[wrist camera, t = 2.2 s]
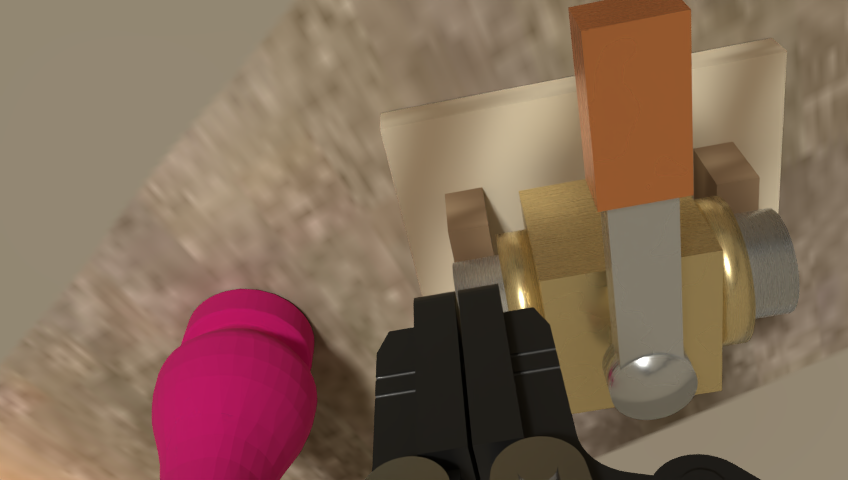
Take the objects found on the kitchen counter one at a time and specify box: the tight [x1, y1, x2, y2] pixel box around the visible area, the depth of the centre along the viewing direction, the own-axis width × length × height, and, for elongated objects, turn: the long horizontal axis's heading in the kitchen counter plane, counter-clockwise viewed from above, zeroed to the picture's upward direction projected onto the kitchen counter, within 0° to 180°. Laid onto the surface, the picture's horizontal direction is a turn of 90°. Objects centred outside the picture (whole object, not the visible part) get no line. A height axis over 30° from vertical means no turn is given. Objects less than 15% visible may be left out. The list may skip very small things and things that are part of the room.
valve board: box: [380, 38, 787, 297], centre depth 34 cm, size 16×12×4 cm
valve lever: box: [568, 0, 698, 420], centre depth 24 cm, size 3×14×2 cm, turn 11°
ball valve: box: [452, 179, 799, 414], centre depth 30 cm, size 12×6×7 cm, turn 101°
